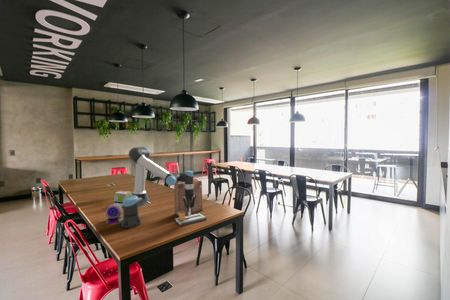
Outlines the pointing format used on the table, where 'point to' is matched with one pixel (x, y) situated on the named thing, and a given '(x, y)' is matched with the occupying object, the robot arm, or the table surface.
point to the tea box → (121, 197)
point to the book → (180, 192)
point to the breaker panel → (190, 218)
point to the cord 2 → (193, 221)
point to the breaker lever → (181, 215)
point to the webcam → (114, 213)
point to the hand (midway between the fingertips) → (189, 215)
